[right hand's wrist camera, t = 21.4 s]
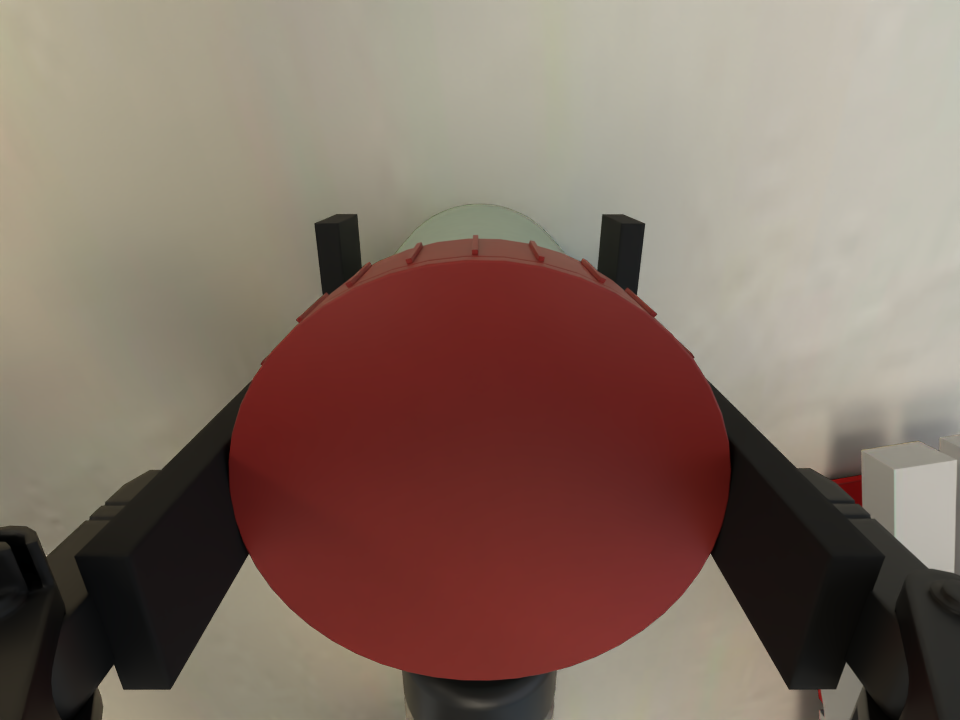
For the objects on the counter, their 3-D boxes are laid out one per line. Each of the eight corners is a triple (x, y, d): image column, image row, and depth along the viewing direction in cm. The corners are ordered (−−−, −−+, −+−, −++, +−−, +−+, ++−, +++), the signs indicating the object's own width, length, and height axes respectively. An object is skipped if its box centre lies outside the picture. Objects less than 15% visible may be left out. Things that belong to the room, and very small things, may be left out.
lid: (366, 634, 15) (345, 719, 13) (192, 315, 11) (120, 356, 9) (715, 551, 14) (761, 629, 12) (644, 167, 10) (690, 171, 8)
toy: (1263, 486, 18) (1164, 1043, 25) (941, 379, 31) (934, 764, 38) (900, 538, 19) (901, 1062, 26) (735, 413, 32) (766, 783, 39)
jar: (604, 318, 26) (760, 525, 11) (459, 410, 28) (438, 686, 13) (503, 163, 23) (542, 176, 9) (351, 276, 25) (178, 441, 11)
